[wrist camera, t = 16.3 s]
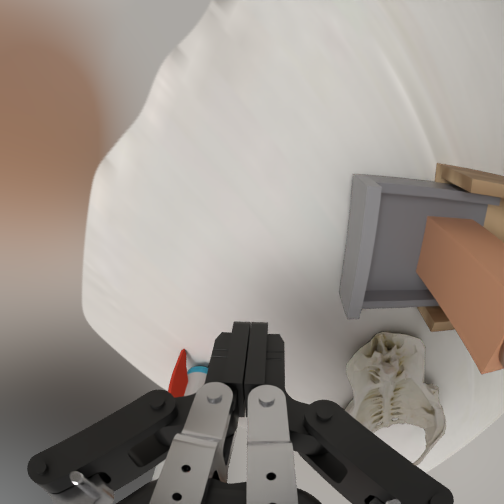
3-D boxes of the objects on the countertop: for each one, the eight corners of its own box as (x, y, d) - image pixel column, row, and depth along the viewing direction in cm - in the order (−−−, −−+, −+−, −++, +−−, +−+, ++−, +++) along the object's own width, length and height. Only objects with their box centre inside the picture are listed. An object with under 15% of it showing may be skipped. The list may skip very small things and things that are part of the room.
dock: (437, 162, 21) (484, 184, 14) (535, 184, 20) (578, 207, 13) (410, 296, 26) (437, 343, 20) (506, 291, 25) (536, 326, 19)
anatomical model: (346, 488, 32) (317, 420, 22) (340, 440, 40) (309, 346, 30) (440, 459, 29) (478, 366, 19) (426, 414, 37) (441, 304, 27)
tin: (427, 216, 21) (526, 311, 9) (472, 219, 20) (570, 302, 9) (415, 271, 23) (486, 383, 11) (459, 270, 22) (535, 367, 11)
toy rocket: (181, 347, 31) (97, 611, 4) (231, 357, 31) (179, 635, 4) (181, 377, 34) (114, 605, 7) (226, 387, 34) (182, 623, 7)
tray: (353, 173, 21) (367, 185, 17) (485, 189, 20) (509, 202, 16) (339, 292, 25) (347, 319, 22) (459, 289, 24) (476, 311, 21)
